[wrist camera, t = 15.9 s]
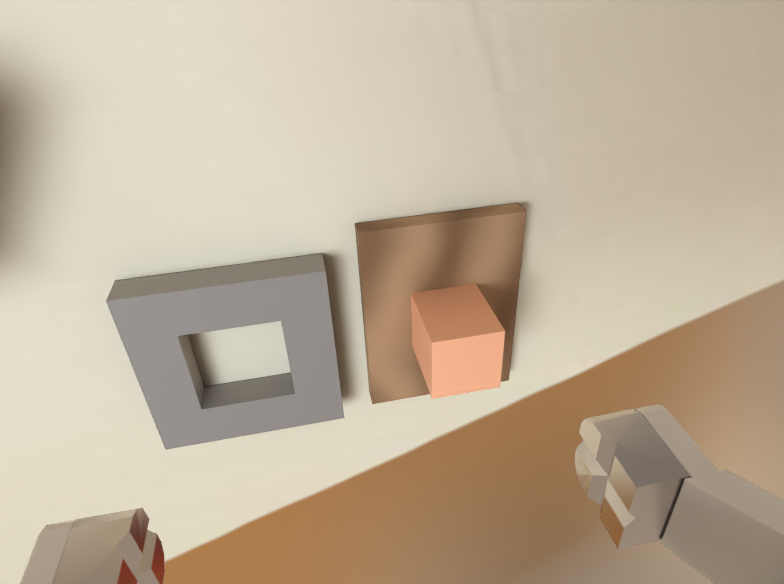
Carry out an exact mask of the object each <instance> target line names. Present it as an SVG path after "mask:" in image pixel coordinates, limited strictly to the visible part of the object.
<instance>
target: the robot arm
mask: <svg viewBox="0 0 784 584" xmlns="http://www.w3.org/2000/svg"><path fill="white" fill-rule="evenodd" d="M579 433H580V435H581V436H582V438H583V439H584V441H583V442H582V443H581V444H580V445H579V446H578V447H577V448H576V453H575V466H576V472H577V475H578V478H579V481H580V483H581V485H582V487H583V489H584V491H585V493H586V494H587V496H588V497H589V498H591V499H592V500H594V501H596V502H597V503H599V504H600V505H601V509H600V515H599V518H600V519H601V521H602V523H603V524H604V526H605V528H606V530H607V531H608V533H609V535H610V537H611V538H612V540H613V542H614V544H615V545H616V547H617V549H620V548H626V547H631V546H636V545H640V544H645V543H651V542H655V541H660V540H662V541H661V544H663V545H664V546H665V547H667V548H668V549H669V550H671V551H672V552H673V553H675V554H676V555H677V556H678V557H680V558H681V559H682V560H684V561H685V562H686V563H688V564H689V565H690V566H692V567H693V568H694V569H696V570H697V571H698V572H700V573H701V574H702V575H704V576H705V577H706V578H707V579H709V580H710V581H711V582H713V583H714V584H784V499H782V498H780V497H779V496H777V495H774V494H773V493H771V492H769V491H767V490H765V489H763V488H761V487H759V486H757V485H755V484H753V483H751V482H750V481H748V480H746V479H744V478H742V477H740V476H738V475H736V474H734V473H732V472H730V471H728V470H723V471H719V470H718V469H717V468H716V467H715V465H714V464H713V463H712V462H711V461H710V459H709V458H708V457H707V456H706V455H705V454H704V452H703V451H702V450H701V449H700V448H699V447H698V445H697V444H696V443H695V442H694V441H693V439H692V438H691V437H690V436H689V435H688V434H687V432H686V431H685V430H684V429H683V428H682V427H681V426H680V424H679V423H678V422H677V421H676V420H675V418H674V417H673V416H672V415H671V414H670V413H669V411H668V410H667V409H666V408H665V407H663V406H661V405H659V404H658V405H653V406H647V407H643V408H638V409H634V410H632V409H629V410H625V411H620V412H616V413H611V414H606V415H601V416H597V417H592V418H587V419H585V420H584V421H583V422H582V423H581V427H580V431H579ZM148 523H149V518H148V516H147V515H146V513H145V511H144V510H143V508H140V509H134V510H128V511H122V512H116V513H111V514H105V515H99V516H93V517H87V518H82V519H76V520H71V521H65V522H60V523H55V524H50V525H46V526H45V528H44V529H43V530H42V531H41V533H40V534H39V535H38V537H37V540H36V543H35V545H34V548H33V551H32V553H31V556H30V558H29V561H28V564H27V566H26V569H25V572H24V574H23V577H22V579H21V582H20V584H163V579H164V572H165V571H164V552H163V548H162V544H161V541H160V539H159V537H158V535H157V534H156V533H153V532H151V531H149V530H147V528H148Z"/></svg>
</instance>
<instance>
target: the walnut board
mask: <svg viewBox="0 0 784 584" xmlns="http://www.w3.org/2000/svg"><path fill="white" fill-rule="evenodd" d="M525 219H526V211H525V210H524V209H523V208H522V207H521V205H520V204H519V203H513V204H505V205H497V206H490V207H482V208H474V209H466V210H458V211H450V212H442V213H434V214H426V215H418V216H410V217H402V218H394V219H386V220H378V221H370V222H363V223H355V230H356V242H357V253H358V265H359V276H360V288H361V299H362V311H363V322H364V334H365V345H366V357H367V368H368V380H369V391H370V396H371V400H372V404H375V403H381V402H387V401H393V400H398V399H404V398H410V397H416V396H421V395H427V394H430V392H429V389H428V387H427V384H426V381H425V379H424V376H423V373H422V371H421V368H420V365H419V362H418V360H417V357H416V354H415V352H414V349H413V346H412V313H411V293H416V292H423V291H430V290H436V289H443V288H450V287H457V286H464V285H471V284H476V285H477V286H478V288H479V290H480V291H481V293H482V294H483V296H484V298H485V299H486V301H487V303H488V304H489V306H490V307H491V309H492V311H493V312H494V314H495V315H496V317H497V319H498V320H499V322H500V323H501V325H502V327H503V328H504V330H505V339H504V350H503V360H502V371H501V381H507V380H509V373H510V363H511V354H512V344H513V334H514V325H515V315H516V305H517V296H518V286H519V276H520V267H521V257H522V248H523V238H524V228H525Z"/></svg>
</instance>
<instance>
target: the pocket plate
mask: <svg viewBox="0 0 784 584" xmlns="http://www.w3.org/2000/svg"><path fill="white" fill-rule="evenodd" d="M106 302H107V304H108V307H109V309H110V312H111V314H112V317H113V319H114V322H115V324H116V327H117V329H118V332H119V334H120V337H121V339H122V342H123V344H124V347H125V349H126V352H127V354H128V357H129V359H130V362H131V364H132V367H133V369H134V372H135V374H136V377H137V379H138V382H139V384H140V387H141V389H142V392H143V394H144V397H145V399H146V402H147V404H148V407H149V409H150V412H151V414H152V417H153V419H154V422H155V424H156V427H157V429H158V432H159V434H160V437H161V439H162V442H163V444H164V447H165V449H172V448H177V447H183V446H189V445H194V444H200V443H206V442H211V441H217V440H222V439H228V438H234V437H239V436H245V435H251V434H256V433H262V432H268V431H273V430H279V429H285V428H290V427H296V426H302V425H307V424H313V423H319V422H324V421H330V420H335V419H341V418H344V412H343V404H342V396H341V388H340V380H339V372H338V364H337V356H336V348H335V340H334V333H333V325H332V317H331V309H330V301H329V293H328V285H327V277H326V270H325V265H324V260H323V254H322V253H321V254H313V255H306V256H298V257H290V258H283V259H275V260H268V261H260V262H253V263H245V264H238V265H230V266H223V267H215V268H208V269H200V270H193V271H185V272H177V273H170V274H162V275H155V276H147V277H140V278H132V279H125V280H117V281H115V282H114V284H113V286H112V289H111V291H110V293H109V296H108V298H107V300H106ZM275 321H281V322H282V328H283V333H284V338H285V343H286V349H287V354H288V359H289V364H290V370H291V373H287V374H281V375H275V376H269V377H263V378H257V379H251V380H244V381H238V382H232V383H226V384H220V385H214V386H208V387H204V385H203V381H202V378H201V375H200V372H199V369H198V365H197V362H196V359H195V356H194V353H193V349H192V346H191V343H190V340H189V337H188V334H195V333H202V332H208V331H215V330H222V329H228V328H235V327H242V326H249V325H255V324H262V323H269V322H275Z"/></svg>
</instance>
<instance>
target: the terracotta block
mask: <svg viewBox="0 0 784 584" xmlns="http://www.w3.org/2000/svg"><path fill="white" fill-rule="evenodd" d="M411 313H412V346H413V349H414V352H415V354H416V357H417V360H418V362H419V365H420V368H421V371H422V373H423V376H424V379H425V381H426V384H427V387H428V389H429V392H430V395H431V398H432V399H434V398H439V397H445V396H451V395H457V394H462V393H468V392H474V391H479V390H485V389H491V388H496V387H500V382H501V371H502V360H503V350H504V339H505V330H504V328H503V327H502V325H501V323H500V322H499V320H498V319H497V317H496V315H495V314H494V312H493V311H492V309H491V307H490V306H489V304H488V303H487V301H486V299H485V298H484V296H483V294H482V293H481V291H480V290H479V288H478V286H477V285H476V284H471V285H464V286H457V287H450V288H443V289H436V290H430V291H423V292H416V293H411Z"/></svg>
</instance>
